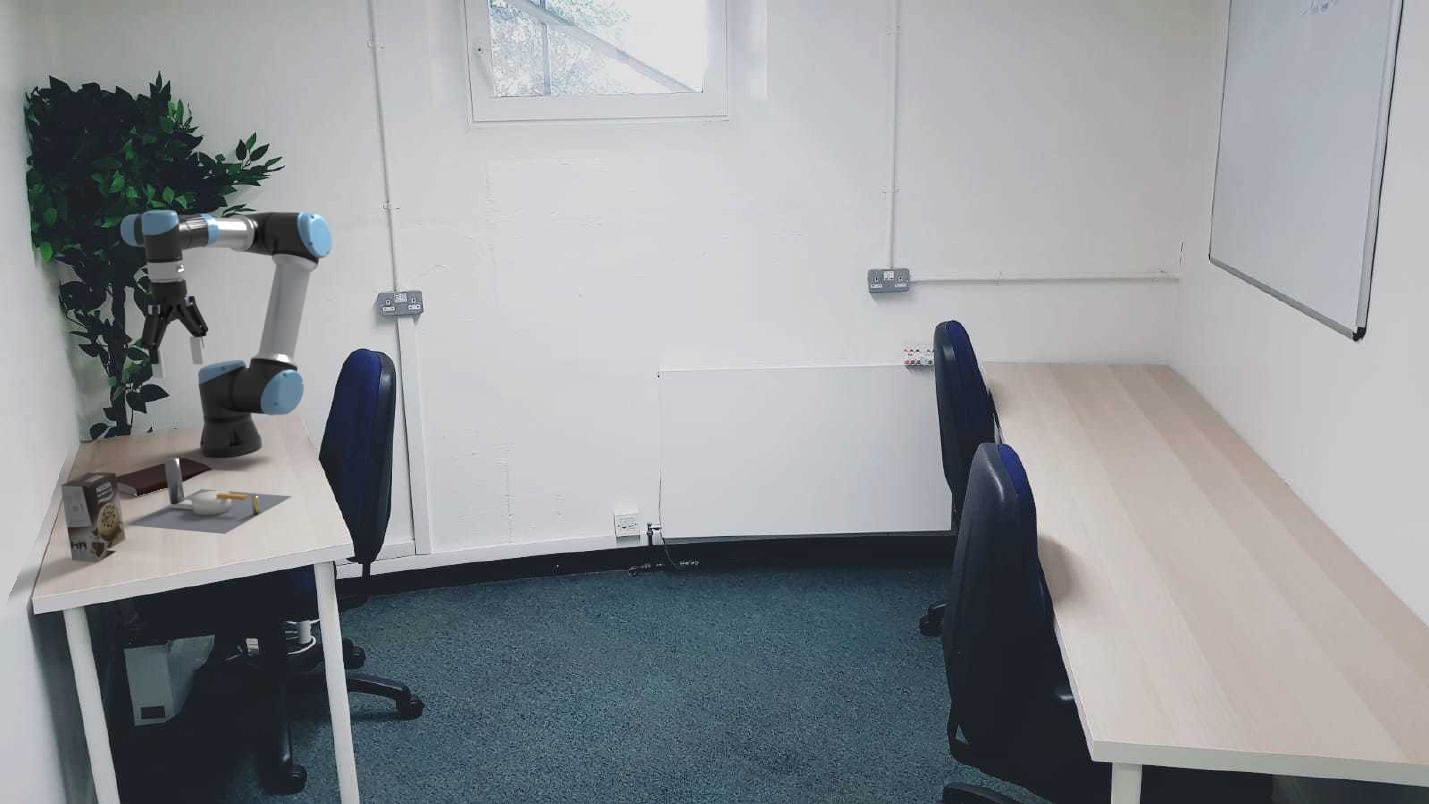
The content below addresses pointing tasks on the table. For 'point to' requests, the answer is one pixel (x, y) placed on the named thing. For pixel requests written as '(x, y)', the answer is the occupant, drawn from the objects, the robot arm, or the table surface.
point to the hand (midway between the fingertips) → (179, 370)
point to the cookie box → (93, 515)
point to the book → (157, 477)
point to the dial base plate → (212, 523)
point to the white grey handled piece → (201, 502)
